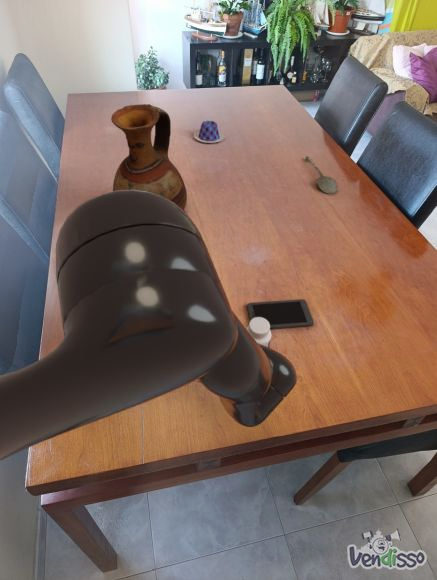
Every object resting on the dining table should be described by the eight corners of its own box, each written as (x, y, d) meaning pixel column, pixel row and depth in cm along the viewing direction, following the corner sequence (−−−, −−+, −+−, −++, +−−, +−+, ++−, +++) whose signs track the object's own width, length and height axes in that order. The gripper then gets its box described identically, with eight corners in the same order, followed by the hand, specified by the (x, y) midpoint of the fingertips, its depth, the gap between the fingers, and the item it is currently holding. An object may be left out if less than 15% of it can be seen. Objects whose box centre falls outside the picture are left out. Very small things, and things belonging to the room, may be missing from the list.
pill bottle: (255, 336, 79) (260, 309, 73) (272, 352, 77) (279, 326, 70) (236, 349, 77) (240, 323, 71) (254, 366, 74) (259, 341, 68)
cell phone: (314, 325, 82) (315, 323, 81) (252, 330, 80) (252, 328, 80) (304, 300, 87) (305, 298, 86) (246, 305, 85) (246, 302, 85)
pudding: (220, 146, 137) (221, 132, 133) (189, 141, 139) (189, 127, 135) (227, 132, 145) (228, 119, 141) (198, 128, 147) (198, 114, 143)
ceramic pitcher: (102, 223, 104) (77, 112, 82) (142, 188, 116) (130, 84, 94) (164, 244, 99) (154, 132, 77) (198, 205, 111) (199, 100, 89)
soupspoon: (319, 196, 119) (338, 195, 120) (323, 187, 116) (342, 186, 117) (298, 159, 133) (315, 159, 134) (301, 150, 130) (318, 150, 131)
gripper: (217, 274, 58) (156, 224, 66) (139, 321, 51) (82, 258, 60) (216, 306, 64) (159, 256, 72) (145, 351, 57) (92, 290, 65)
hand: (124, 257), depth 66 cm, fingers closed on syrup box, 7 cm apart
